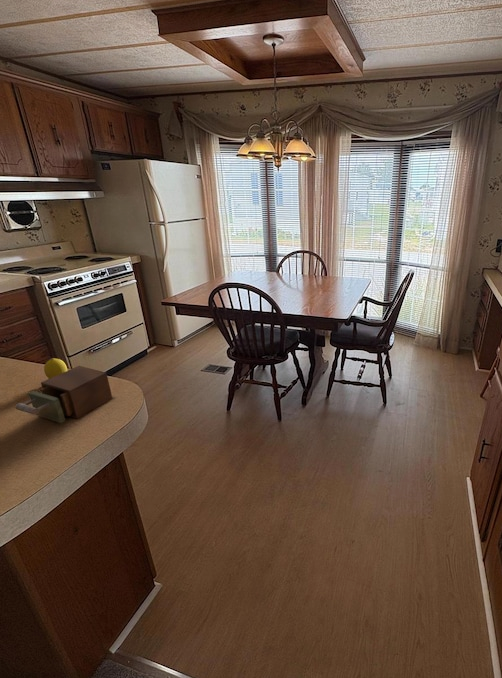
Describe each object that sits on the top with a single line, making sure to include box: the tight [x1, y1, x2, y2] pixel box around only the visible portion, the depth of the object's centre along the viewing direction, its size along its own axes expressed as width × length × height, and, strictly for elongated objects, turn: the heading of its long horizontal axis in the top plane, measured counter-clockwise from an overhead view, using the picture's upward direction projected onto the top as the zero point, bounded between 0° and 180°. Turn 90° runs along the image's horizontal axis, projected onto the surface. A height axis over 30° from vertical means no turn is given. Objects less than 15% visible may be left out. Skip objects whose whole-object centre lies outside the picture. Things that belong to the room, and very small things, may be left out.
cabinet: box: [40, 365, 113, 419], centre depth 95 cm, size 11×11×9 cm
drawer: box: [15, 387, 74, 424], centre depth 89 cm, size 14×9×7 cm
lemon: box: [43, 357, 68, 379], centre depth 106 cm, size 6×6×8 cm
